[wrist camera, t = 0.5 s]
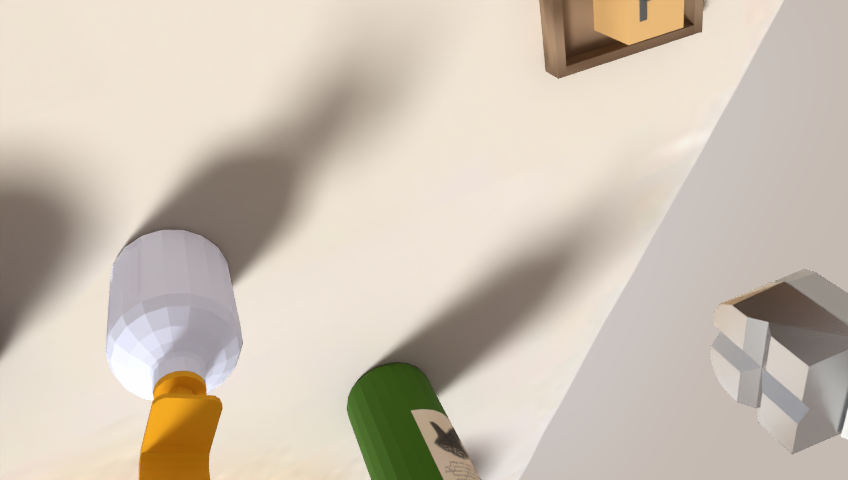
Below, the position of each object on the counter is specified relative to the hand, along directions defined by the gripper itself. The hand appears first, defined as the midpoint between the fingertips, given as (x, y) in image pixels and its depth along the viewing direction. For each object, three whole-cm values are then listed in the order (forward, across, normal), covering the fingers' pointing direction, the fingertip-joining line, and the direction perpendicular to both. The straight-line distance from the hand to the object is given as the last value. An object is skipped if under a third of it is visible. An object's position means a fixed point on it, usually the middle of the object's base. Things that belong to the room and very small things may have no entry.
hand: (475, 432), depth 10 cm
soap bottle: (+45, +11, +22) cm, 51 cm away
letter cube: (+44, -31, +10) cm, 55 cm away
